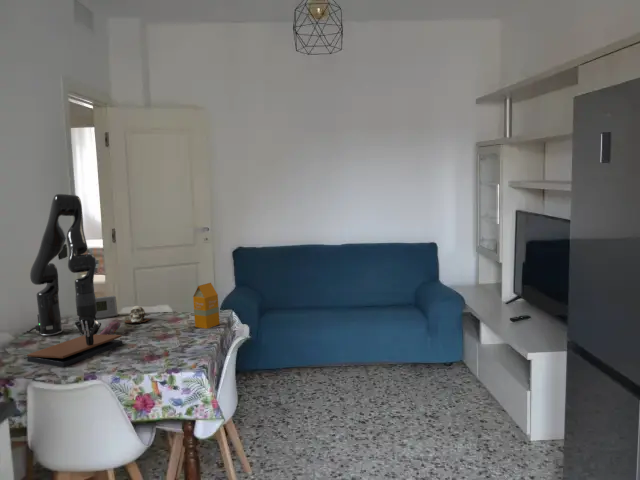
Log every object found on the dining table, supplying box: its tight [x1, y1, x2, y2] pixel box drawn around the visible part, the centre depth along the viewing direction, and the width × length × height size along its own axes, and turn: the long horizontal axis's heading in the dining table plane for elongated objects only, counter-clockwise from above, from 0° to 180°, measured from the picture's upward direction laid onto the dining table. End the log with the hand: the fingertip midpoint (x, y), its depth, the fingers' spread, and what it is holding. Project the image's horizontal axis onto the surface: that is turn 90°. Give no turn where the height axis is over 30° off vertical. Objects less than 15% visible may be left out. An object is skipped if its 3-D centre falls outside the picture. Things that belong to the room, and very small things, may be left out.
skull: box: [124, 305, 151, 324], centre depth 283 cm, size 12×10×10 cm
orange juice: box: [192, 282, 221, 330], centre depth 269 cm, size 8×9×20 cm
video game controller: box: [99, 320, 121, 335], centre depth 261 cm, size 10×5×7 cm, turn 168°
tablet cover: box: [26, 333, 122, 358], centre depth 236 cm, size 21×30×1 cm
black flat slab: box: [26, 339, 123, 368], centre depth 236 cm, size 21×30×2 cm
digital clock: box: [95, 295, 119, 320], centre depth 294 cm, size 16×9×11 cm, turn 103°
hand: (90, 344), depth 232 cm, fingers closed
